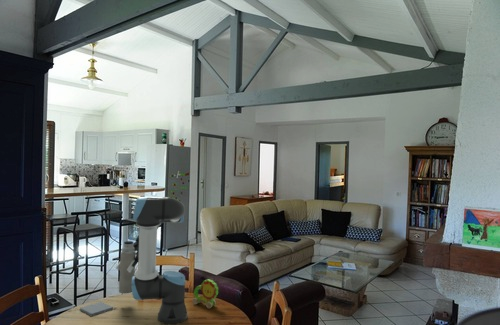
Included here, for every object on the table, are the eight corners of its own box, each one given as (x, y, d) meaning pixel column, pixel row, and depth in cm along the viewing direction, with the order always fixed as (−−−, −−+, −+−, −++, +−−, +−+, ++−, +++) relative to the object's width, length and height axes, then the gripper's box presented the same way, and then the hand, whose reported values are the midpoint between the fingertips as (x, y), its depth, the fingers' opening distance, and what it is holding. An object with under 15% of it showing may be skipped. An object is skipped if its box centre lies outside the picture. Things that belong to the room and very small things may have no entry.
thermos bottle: (123, 288, 197) (125, 240, 198) (136, 289, 196) (138, 240, 198) (116, 293, 189) (118, 242, 191) (129, 294, 188) (132, 243, 190)
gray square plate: (112, 309, 186) (112, 307, 186) (91, 316, 176) (91, 313, 176) (100, 303, 193) (101, 301, 193) (79, 310, 183) (80, 307, 183)
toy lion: (191, 304, 197) (192, 277, 197) (197, 301, 202) (198, 275, 202) (214, 310, 189) (215, 282, 190) (219, 307, 194) (220, 280, 194)
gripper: (160, 242, 203) (139, 276, 188) (135, 239, 212) (113, 271, 197) (155, 235, 199) (133, 269, 183) (129, 231, 208) (106, 263, 193)
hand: (122, 270), depth 190 cm, fingers closed on thermos bottle, 8 cm apart
